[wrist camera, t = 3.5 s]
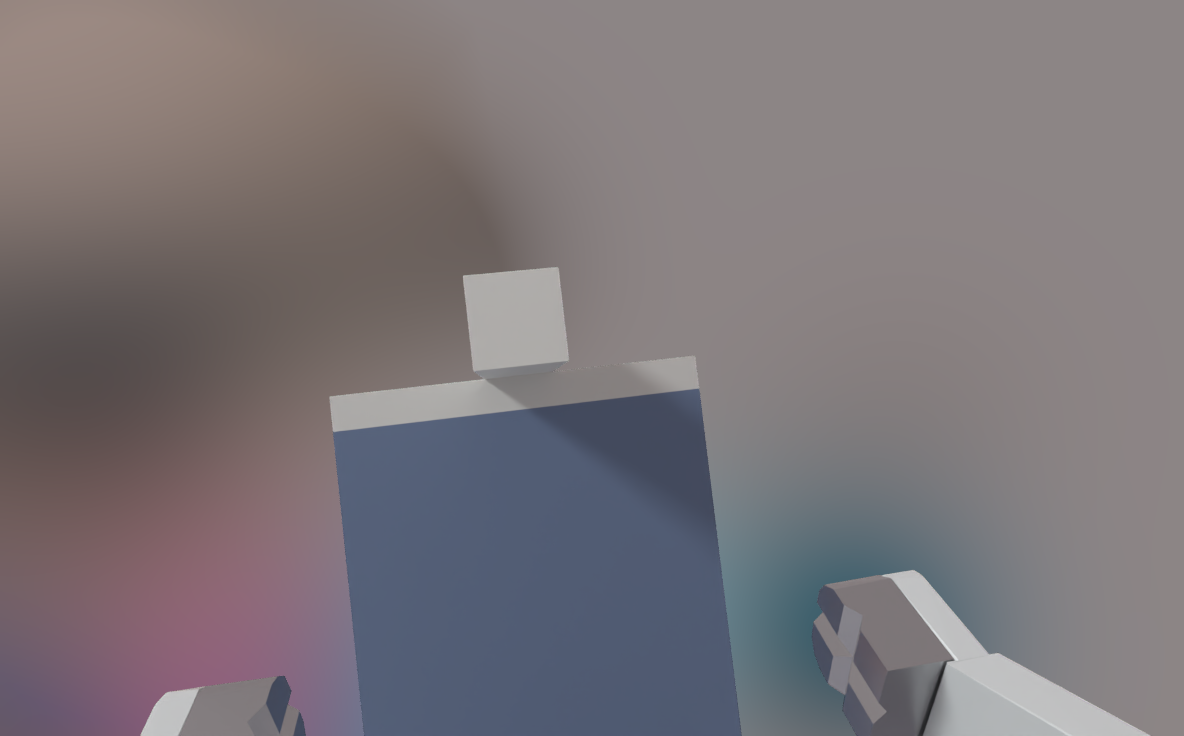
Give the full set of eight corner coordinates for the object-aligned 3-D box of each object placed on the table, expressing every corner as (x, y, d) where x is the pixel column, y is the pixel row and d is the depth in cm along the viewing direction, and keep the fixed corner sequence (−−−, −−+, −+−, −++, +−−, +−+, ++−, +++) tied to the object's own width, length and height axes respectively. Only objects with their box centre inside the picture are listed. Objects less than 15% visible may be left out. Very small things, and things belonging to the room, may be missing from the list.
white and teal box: (578, 359, 20) (567, 266, 20) (463, 372, 20) (453, 276, 20) (545, 379, 40) (540, 332, 40) (488, 385, 39) (482, 338, 40)
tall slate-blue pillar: (766, 941, 28) (694, 355, 29) (394, 1030, 26) (329, 396, 27) (693, 784, 39) (643, 368, 40) (430, 837, 37) (384, 397, 38)
